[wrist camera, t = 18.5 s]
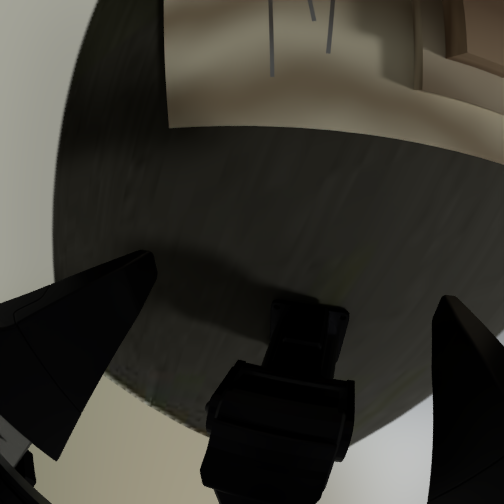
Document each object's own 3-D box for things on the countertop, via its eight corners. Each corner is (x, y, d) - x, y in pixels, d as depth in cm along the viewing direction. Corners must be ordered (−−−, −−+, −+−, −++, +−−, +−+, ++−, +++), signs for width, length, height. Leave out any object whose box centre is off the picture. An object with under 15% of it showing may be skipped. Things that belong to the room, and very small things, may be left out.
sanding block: (501, 115, 11) (546, 129, 7) (413, 90, 12) (440, 90, 8) (492, -26, 6) (525, -48, 2) (402, -55, 7) (416, -93, 3)
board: (518, 166, 13) (528, 173, 12) (180, 124, 19) (169, 128, 18) (510, -35, 5) (519, -40, 3) (177, -62, 11) (166, -68, 10)
